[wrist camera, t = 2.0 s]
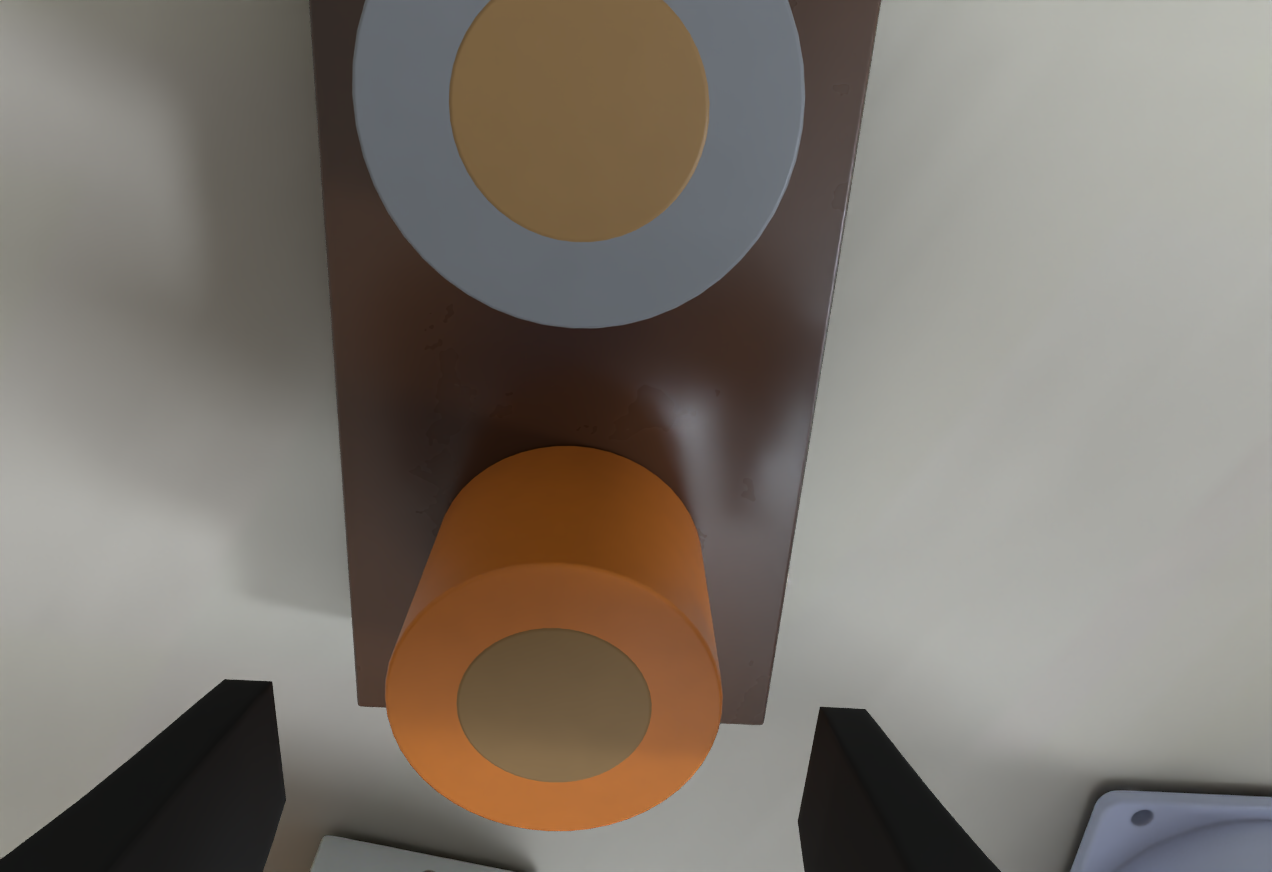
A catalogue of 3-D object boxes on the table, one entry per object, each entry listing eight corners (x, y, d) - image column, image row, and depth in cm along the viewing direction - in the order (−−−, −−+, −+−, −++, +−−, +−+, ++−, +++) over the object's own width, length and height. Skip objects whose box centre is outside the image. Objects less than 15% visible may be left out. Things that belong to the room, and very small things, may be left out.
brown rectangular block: (861, -134, 14) (910, -170, 12) (747, 645, 20) (764, 726, 18) (349, -178, 14) (291, -224, 11) (388, 627, 20) (357, 707, 17)
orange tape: (715, 452, 15) (742, 574, 12) (689, 678, 17) (705, 840, 14) (433, 436, 15) (375, 554, 12) (438, 666, 17) (390, 827, 14)
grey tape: (778, -84, 12) (839, -133, 9) (736, 268, 14) (773, 343, 11) (420, -113, 12) (335, -178, 8) (428, 247, 14) (362, 317, 10)
